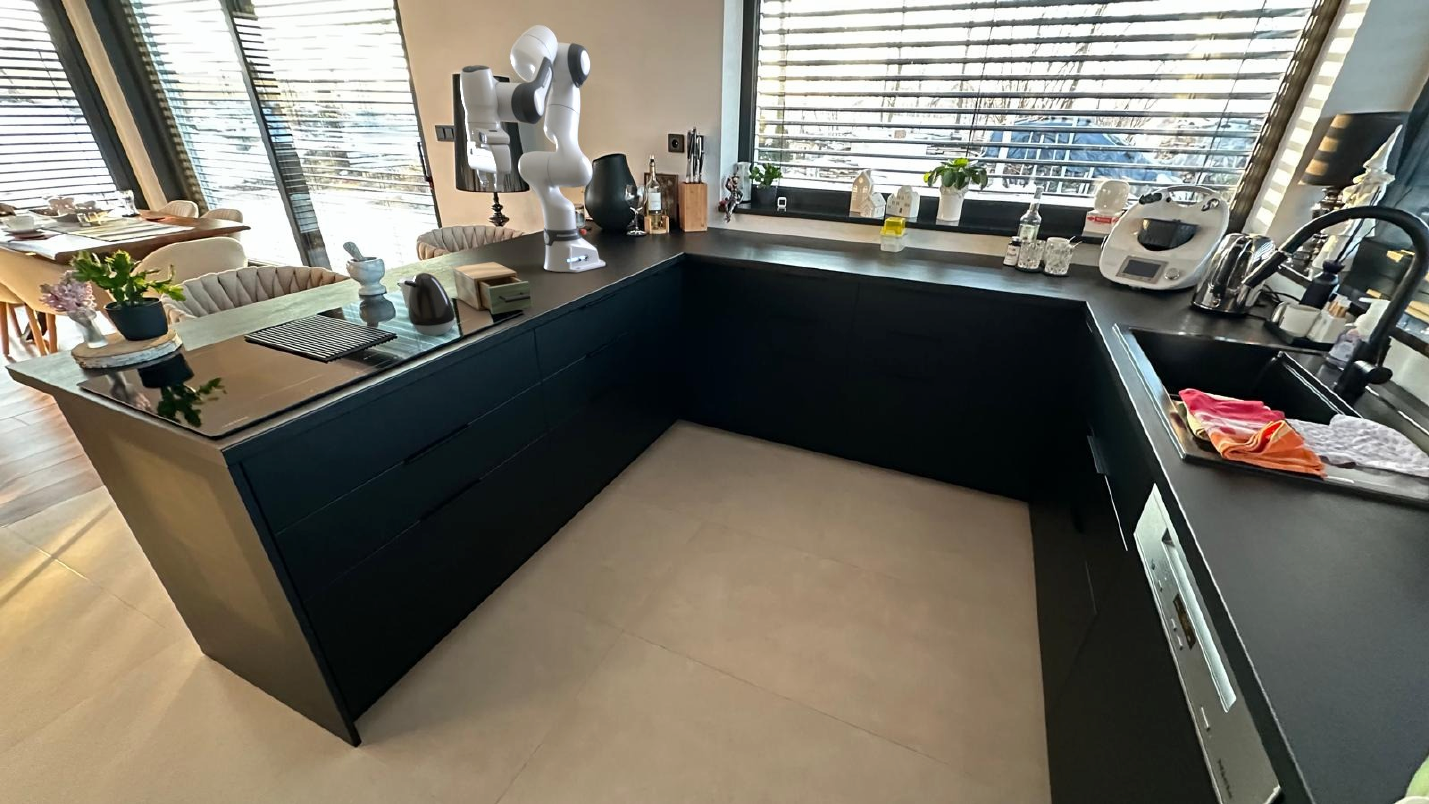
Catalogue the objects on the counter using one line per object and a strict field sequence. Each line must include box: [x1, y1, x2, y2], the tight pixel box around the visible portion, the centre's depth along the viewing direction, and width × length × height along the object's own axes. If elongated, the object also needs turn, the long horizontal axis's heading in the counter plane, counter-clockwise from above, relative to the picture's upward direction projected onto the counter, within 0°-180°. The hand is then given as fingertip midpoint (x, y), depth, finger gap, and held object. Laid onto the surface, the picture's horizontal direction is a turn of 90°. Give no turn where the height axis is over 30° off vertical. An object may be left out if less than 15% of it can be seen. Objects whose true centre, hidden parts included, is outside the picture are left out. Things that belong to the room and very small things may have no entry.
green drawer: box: [477, 276, 533, 315], centre depth 157 cm, size 19×11×7 cm, turn 43°
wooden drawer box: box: [452, 261, 519, 311], centre depth 165 cm, size 16×13×9 cm
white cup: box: [398, 275, 416, 314], centre depth 149 cm, size 8×8×10 cm
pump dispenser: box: [404, 272, 456, 337], centre depth 137 cm, size 10×10×15 cm
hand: (492, 188), depth 157 cm, fingers open, 8 cm apart
